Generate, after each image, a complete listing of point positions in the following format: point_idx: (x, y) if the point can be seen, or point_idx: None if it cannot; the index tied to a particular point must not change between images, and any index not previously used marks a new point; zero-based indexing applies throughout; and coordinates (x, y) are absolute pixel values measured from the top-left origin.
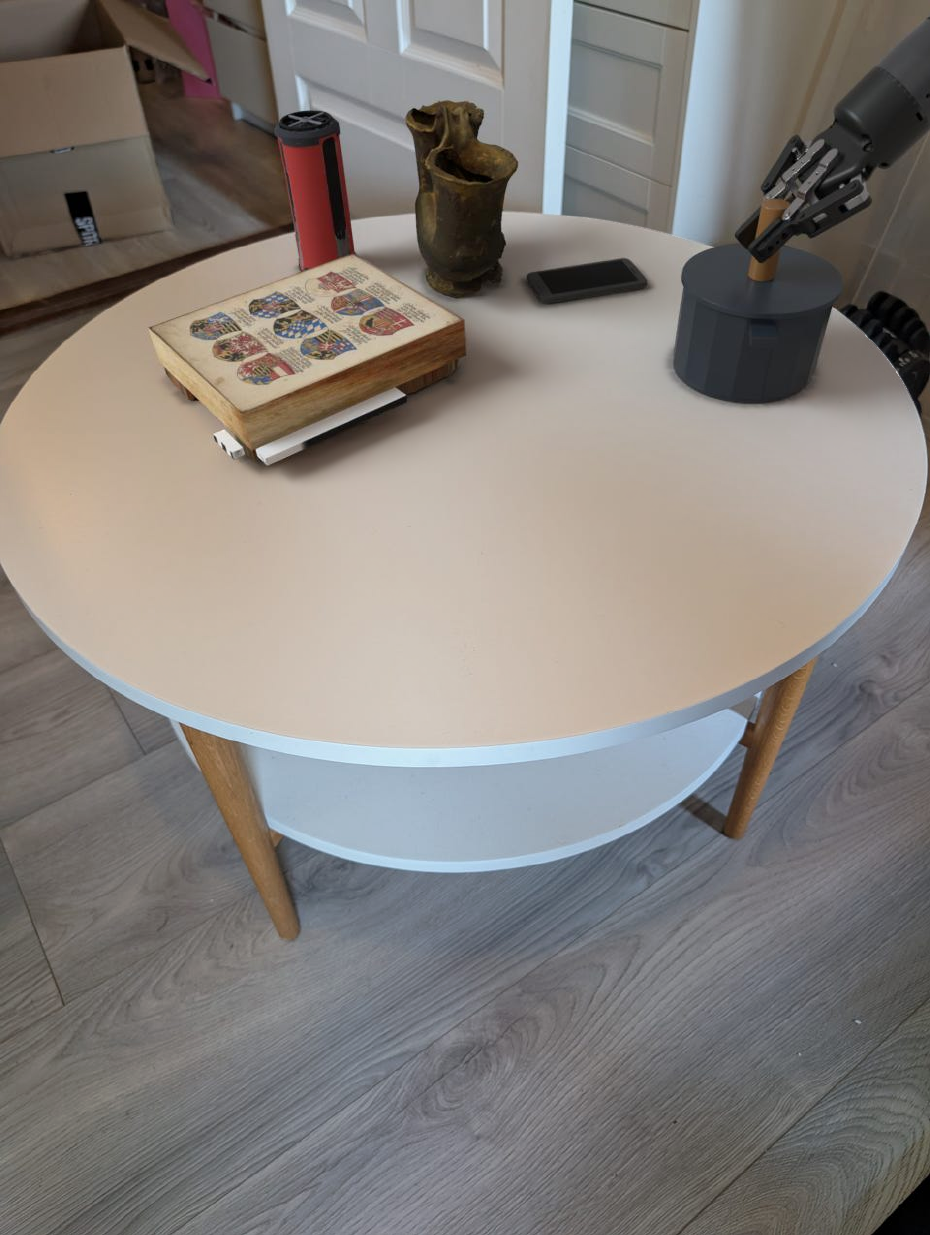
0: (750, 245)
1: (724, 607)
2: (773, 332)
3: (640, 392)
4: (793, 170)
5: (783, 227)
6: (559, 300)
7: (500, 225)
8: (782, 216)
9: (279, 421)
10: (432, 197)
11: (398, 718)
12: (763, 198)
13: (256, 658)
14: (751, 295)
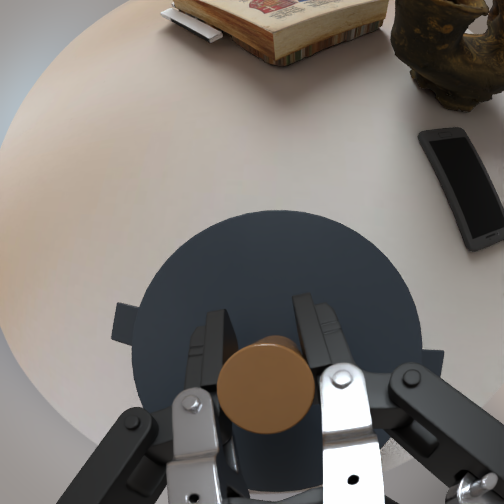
0: (218, 311)
1: (6, 249)
2: (126, 338)
3: (230, 215)
4: (358, 478)
5: (186, 388)
6: (425, 150)
7: (430, 44)
8: (199, 391)
9: (182, 4)
10: (478, 35)
11: (17, 118)
12: (355, 366)
13: (60, 66)
14: (195, 322)
